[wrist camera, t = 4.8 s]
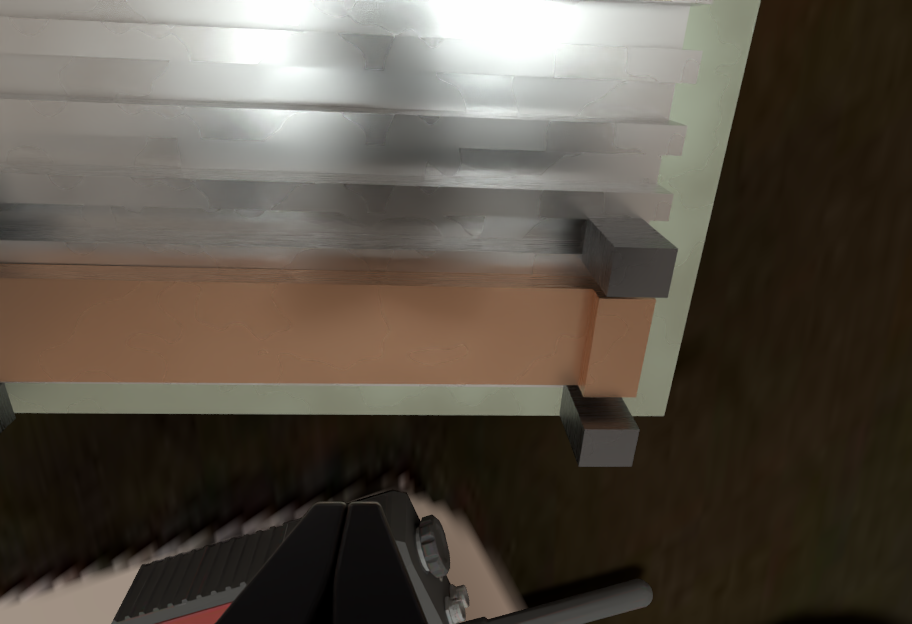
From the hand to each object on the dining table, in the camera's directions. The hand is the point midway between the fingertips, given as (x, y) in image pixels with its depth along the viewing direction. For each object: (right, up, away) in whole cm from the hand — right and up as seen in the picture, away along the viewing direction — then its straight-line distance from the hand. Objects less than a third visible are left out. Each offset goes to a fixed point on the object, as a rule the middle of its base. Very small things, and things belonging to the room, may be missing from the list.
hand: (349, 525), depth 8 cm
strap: (-2, +3, +6) cm, 7 cm away
